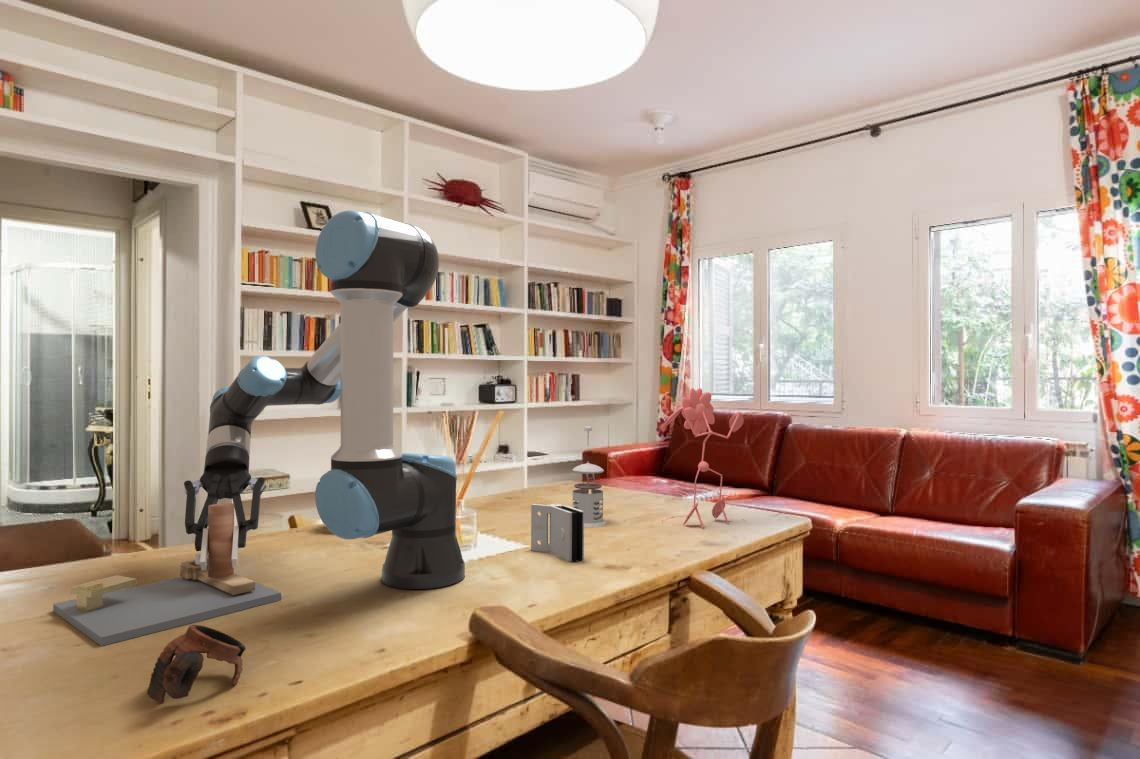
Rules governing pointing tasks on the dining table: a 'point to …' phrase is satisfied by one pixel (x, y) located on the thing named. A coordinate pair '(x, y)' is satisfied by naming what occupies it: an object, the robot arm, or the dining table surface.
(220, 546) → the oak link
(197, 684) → the dining table surface
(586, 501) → the french press
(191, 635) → the brown curved piece
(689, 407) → the pink stick figure
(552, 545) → the hinge
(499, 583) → the dining table surface
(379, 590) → the dining table surface
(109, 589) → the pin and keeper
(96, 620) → the charcoal board
